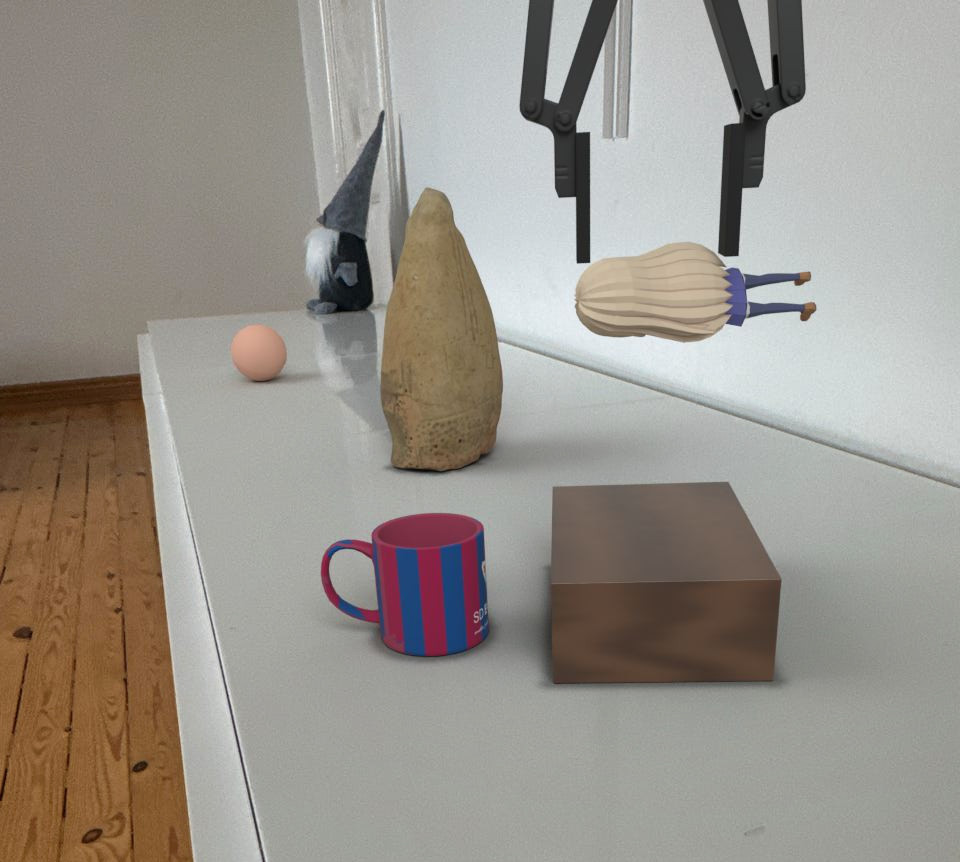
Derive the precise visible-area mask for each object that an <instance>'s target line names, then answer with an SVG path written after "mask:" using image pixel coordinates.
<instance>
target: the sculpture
mask: <svg viewBox="0 0 960 862" xmlns="http://www.w3.org/2000/svg"><path fill="white" fill-rule="evenodd" d="M404 229H405V230H404V231H405V233H404V235H405V236H404V243H403V246H402V250H401V253H400V258H399V261H398V264H397V269H396V274H395V278H394V282H393V285H392V288H391V292H390V296H389V298H388V301H387V305H386V311H385V319H384V327H383V339H382V354H381V365H380V383H379V384H380V387H379V388H380V392H379V393H380V403H381V408H382V413H383V415H384V418H385V421H386V423H387V427H388V430H389V433H390V436H391V441H392V445H391V446H392V447H391V454H390V463H391V466H392V467H396V468H400V469H416V470H428V471H436V472H443V471H449V470H456V469H457V470H459V469H461V468H463V467H466V466H467V465H470V464H472V463H474V462H476V461H478V460H479V458H480V456H481V455H485V454H489V453H490V451H491V450H492V449H493V447H494V446H495V444H496V442H497V436H498V435H497V432H498V425H499V421H500V420H501V419H500V418H501V413H502V406H503V405H502V404H503V392H504V376H503V367H502V361H501V355H500V348H499V347H500V346H499V340H498V335H497V328H496V324H495V319H494V313H493V310H492V307H491V304H490V301H489V298H488V295H487V291H486V290H485V289H486V288H485V287H484V284H483V281H482V279H481V276H480V274H479V271H478V269H477V266H476V264H475V262H474V260H473V258H472V255H471V253H470V250H469V249H468V245H467V243H466V240H465V237H464V235H463V233H462V232H461V231H460V229H459V228H458V227H457V225H456V222H455V217H454V210H453V207H452V204H451V201H450V200H449V198H448V196H447V195H446V194H445V193H444V192H443V191H442V190H441V191H440V190H438V189H435V188H431V187H424V189H423V191H422V193H421V194H420V195H419V198H418V200H417V202H416V204H415V205H414V207H413V208H412V212H411V214H410V216H409V217H408V219H407V221H406V222H405V228H404Z"/></svg>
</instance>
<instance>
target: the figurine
mask: <svg viewBox="0 0 960 862" xmlns="http://www.w3.org/2000/svg"><path fill="white" fill-rule="evenodd" d="M724 268H727V265H726V264H725V263H724V262H723V260H722V259H721V258H720V257H719V255H717V253H715V251H713V250H712V249H710V248H708V247H706V246H704V245H703V244H701V243H696V242H692V241H680V242H679V241H678V242H672V243H667V244H664V245H662V246H659V247H657V248H655V249H653V250H650V251H648V252H645V253H643V254H640V255H635V256H634V255H633V256H615V257H605V258H603V257H602V258H600V259H598V260H596V261H594V262H593V263H590V265H589V266H587V267H586V269H585V270H584V271H583V273H581V275H580V276H579V278H578V280H577V284H576V286H575V289H574V291H575V293H574V301H575V304H574V309H575V314H576V316H577V319H578V321H580V323H581V324H582V325H583V326H584V327H585V328H586V329H587V330H589V331H590V332H591V333H593V334H595V335H598V336H600V337H608V338H631V337H635V338H645V337H646V336H651V337H655V338H660V339H663V340H669V341H674V342H678V343H684V344H685V343H695V342H701V341H704V340H707V339H709V338H712V337H713V336H714V335H716V334H717V333H719V332H720V331H722V330H723V328H724V326H725V325H730V326H735V327H739V328H741V327H743V324H744V322H745V320H747V319H752V318H755V317H759V316H762V315H771V314H785V313H800V315H799V321H801V322H807V321H809V320H810V318H811V316H812V315H813V314H814V313H816V311H817V309H818V308H817V304H816V302H813V301H809V302H805V303H791V302H789V303H788V302H768V303H760V302H754V301H748V295H747V290H749V289H750V290H751V289H754V288H758V287H763V286H767V285H774V284H780V283H782V284H783V283H787V282H788V283H789V282H793V284H794V286H796V287H801V286H802V285H804V284H805V283H808V282H810V281H812V273H811V271H801V272H795V273H790V272H789V273H787V272H783V273H782V272H774V273H773V272H771V273H764V274H759V275H757V274H749V273H744V272H743V273H742V272H741V270H740V268H739V267H738V268H737V267H729V268H727V269H724Z"/></svg>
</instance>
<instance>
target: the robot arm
mask: <svg viewBox="0 0 960 862" xmlns="http://www.w3.org/2000/svg"><path fill="white" fill-rule="evenodd" d="M618 1H619V0H591V4H590V6H589V9H588V12H587V15H586V17H585V21H584V24H583V27H582V29H581V33H580V36H579V39H578V42H577V46H576V49H575V52H574V55H573V58H572V60H571V63H570V67H569V70H568V73H567V76H566V78H565V82H564V85H563V88H562V91H561V94H560V97H559V100H558V102H555V101H552V100H550V99H547V98H545V95H546V87H547V77H548V67H549V56H550V55H549V54H550V49H551V38H552V37H551V36H552V27H553V19H554V10H555V9H554V7H555V0H528V8H527V9H528V10H527V19H526V31H525V42H524V52H523V53H524V54H523V63H522V74H521V84H520V95H519V107H518V108H519V112H520V115H521V116H522V117H523V119H524V120H525V121H527V122H530V123H533V124H536V125H539V126H542V127H544V128H547V129H548V130H549V131H550V132H551V134H552V136H553V159H554V165H553V166H554V190H555V192H556V195H557V198H558V199H563V198H565V199H566V198H575V257H576V258H575V259H576V260H575V262H576V264H591V131H580V132H578V131H577V130H578V129H577V127H578V126H577V122H578V119H579V116H580V113H581V110H582V107H583V104H584V101H585V99H586V95H587V92H588V89H589V87H590V84H591V81H592V77H593V75H594V72H595V69H596V65H597V63H598V60H599V57H600V54H601V51H602V48H603V45H604V44H605V43H604V42H605V39H606V37H607V35H608V34H607V33H608V30H609V28H610V25H611V22H612V19H613V16H614V13H615V10H616V7H617V4H618ZM702 2H703V5H704V8H705V11H706V14H707V18H708V21H709V24H710V27H711V31H712V33H713V37H714V39H715V44H716V46H717V49H718V53H719V56H720V59H721V62H722V65H723V69H724V72H725V75H726V78H727V82H728V85H729V89H730V91H731V95H732V98H733V101H734V105H735V107H736V110H737V114H738V116H739V119H738V122H735V123H733V122H732V123H729V124H725V125H723V139H722V161H721V162H722V163H721V178H720V179H721V181H720V201H719V202H720V203H719V223H718V243H717V244H718V246H717V254H718V255H720V256H722V257H724V258H728V257H729V258H730V257H739V256H740V241H741V239H740V238H741V220H742V203H743V189H755V188H756V189H758V188H760V185H761V183H762V181H763V178H764V170H765V169H764V165H765V153H766V152H765V151H766V137H767V127H768V126H767V125H768V123H769V120H770V119H771V118H772V117H773V116H774V115H775V114H777V113H778V112H780V111H782V110H785V109H787V108H789V107H792V106H793V105H796V104H798V103H800V102H801V101H802V100H803V99H804V97H805V95H806V89H807V85H806V82H807V81H806V64H805V61H806V60H805V44H804V43H805V41H804V21H803V4H802V3H803V0H767V1H766V2H767V17H768V18H767V19H768V20H767V21H768V34H769V50H770V51H769V53H770V66H771V67H770V68H771V83H772V85H771V87H768V88H765V85H764V82H763V78H762V75H761V72H760V69H759V65H758V61H757V59H756V58H757V57H756V56H755V55H756V54H755V51H754V48H753V45H752V42H751V38H750V35H749V32H748V28H747V24H746V22H745V19H744V15H743V11H742V9H741V5H740V1H739V0H702Z"/></svg>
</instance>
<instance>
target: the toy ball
mask: <svg viewBox="0 0 960 862" xmlns="http://www.w3.org/2000/svg"><path fill="white" fill-rule="evenodd" d="M231 342H232V343H231V345H230V354H231V359H232V362H233V365H234V366H235V368H236V370H237V371H238V372H239V373H240V374H241V375H242V376H243V377H245V378H247V379H249V380H252V381H255V382H265V381H270V380H272V379H274V378H276V377H277V376H278V375H279V374H280V373H281V372H282V370H283V369H284V367H285V365H286V364H287V358H288V352H287V346H286V343H285V341H284V339H283V337H282V336H281V335H280V334H279V333H278V331H276V330H275V329H273V328H272V327H270V326H267V325H264V324H259V323H258V324H250V325H247V326H245V327H243V328H242V329H240V330H239V331H238V332H237V333H236V334H235V336H234V338H233V339H232V341H231Z"/></svg>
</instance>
